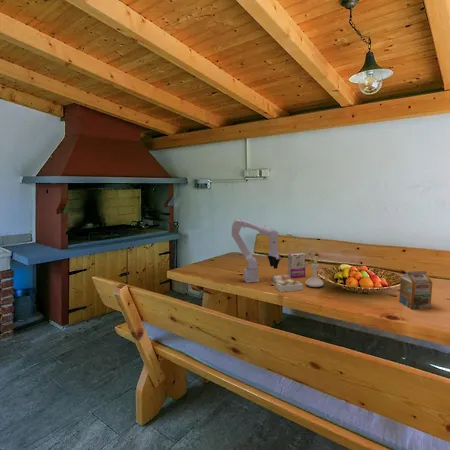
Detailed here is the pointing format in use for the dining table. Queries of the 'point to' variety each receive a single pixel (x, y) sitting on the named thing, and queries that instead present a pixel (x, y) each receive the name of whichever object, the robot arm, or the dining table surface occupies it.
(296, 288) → the tray
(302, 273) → the candy bar box
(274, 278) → the white tile
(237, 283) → the dining table surface
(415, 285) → the milk carton
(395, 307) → the dining table surface
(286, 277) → the terracotta tile
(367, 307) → the dining table surface
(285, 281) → the birch board
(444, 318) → the dining table surface
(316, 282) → the flower in vase
